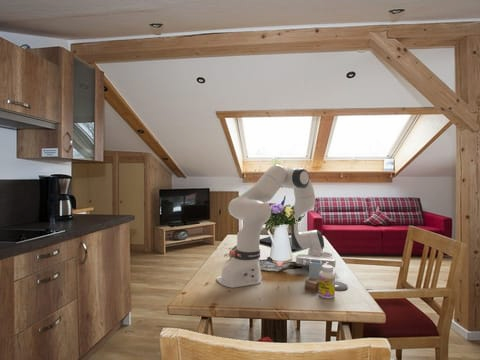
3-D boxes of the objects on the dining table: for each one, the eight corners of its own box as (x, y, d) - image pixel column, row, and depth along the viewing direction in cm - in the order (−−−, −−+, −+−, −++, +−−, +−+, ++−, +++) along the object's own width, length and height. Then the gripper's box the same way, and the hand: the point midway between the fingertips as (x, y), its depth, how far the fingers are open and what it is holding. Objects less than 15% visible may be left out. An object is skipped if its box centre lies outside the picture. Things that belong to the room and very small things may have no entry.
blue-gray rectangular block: (308, 283, 143) (309, 262, 142) (309, 279, 148) (309, 259, 148) (321, 284, 141) (321, 263, 141) (321, 280, 147) (321, 260, 146)
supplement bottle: (315, 295, 129) (316, 265, 129) (323, 291, 134) (324, 262, 133) (329, 300, 124) (330, 269, 124) (337, 296, 129) (338, 266, 128)
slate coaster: (338, 292, 133) (338, 291, 133) (320, 285, 141) (320, 283, 141) (352, 287, 139) (352, 286, 138) (333, 280, 147) (334, 279, 147)
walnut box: (314, 292, 132) (314, 283, 132) (304, 289, 136) (305, 280, 135) (320, 289, 136) (320, 280, 135) (310, 286, 139) (311, 277, 139)
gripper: (296, 250, 169) (294, 257, 156) (334, 253, 164) (336, 260, 150) (296, 261, 169) (294, 269, 156) (334, 265, 164) (335, 273, 151)
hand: (315, 265), depth 153 cm, fingers open, 8 cm apart
